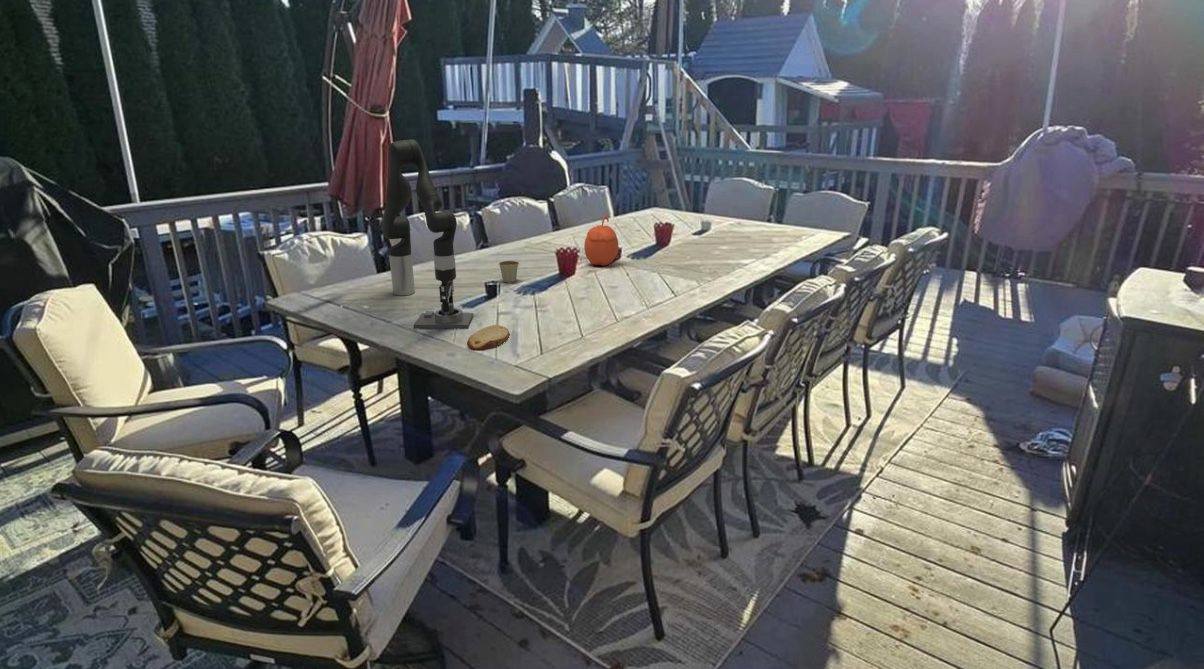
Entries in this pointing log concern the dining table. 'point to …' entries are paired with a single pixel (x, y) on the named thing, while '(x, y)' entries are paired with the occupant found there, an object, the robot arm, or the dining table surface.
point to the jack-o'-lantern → (601, 244)
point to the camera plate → (429, 322)
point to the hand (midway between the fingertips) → (448, 308)
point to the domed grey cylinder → (451, 310)
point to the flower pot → (509, 270)
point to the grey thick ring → (449, 317)
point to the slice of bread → (488, 338)
